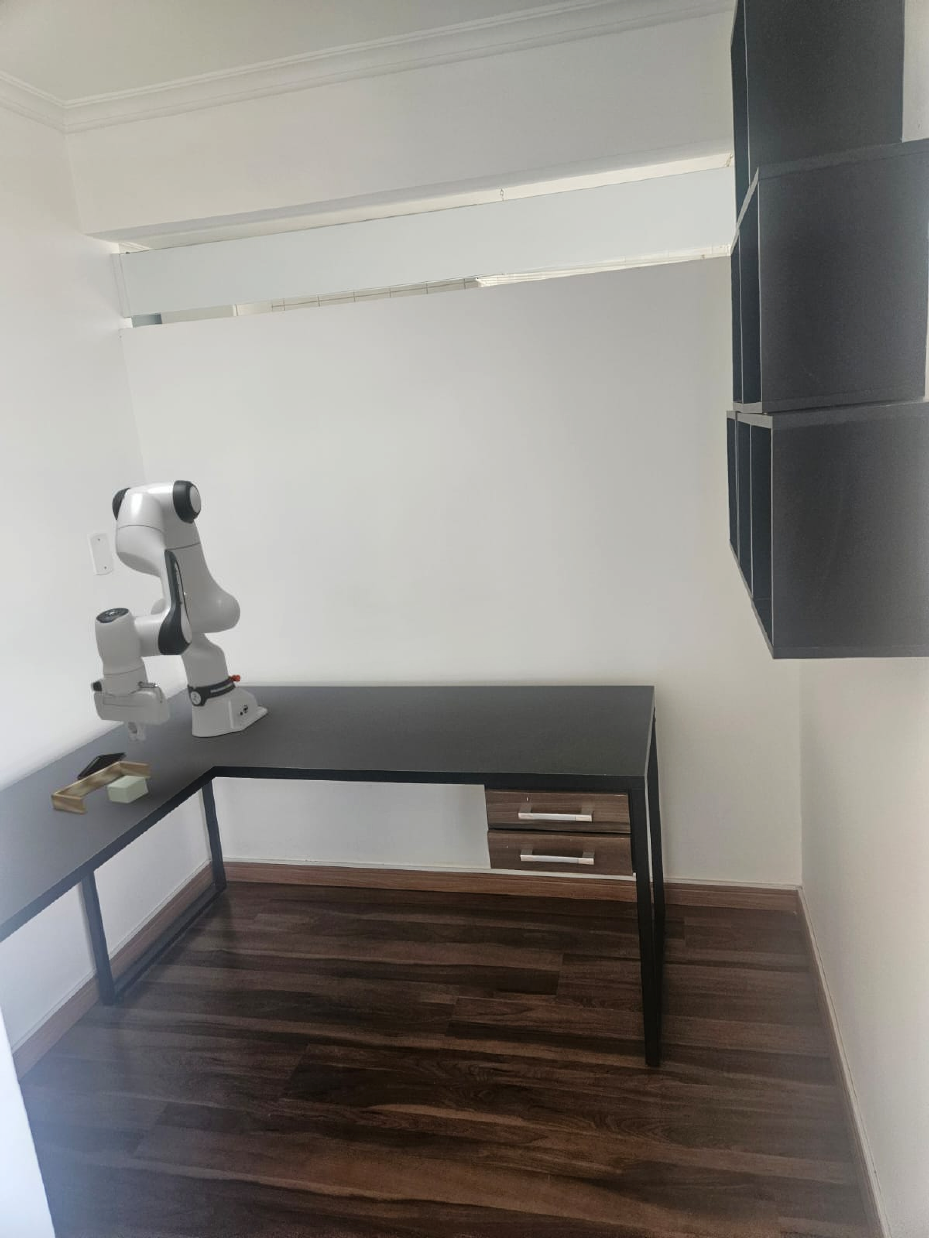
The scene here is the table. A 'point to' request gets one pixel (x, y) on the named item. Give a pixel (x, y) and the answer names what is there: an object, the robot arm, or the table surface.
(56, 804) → the wooden u-shaped bracket
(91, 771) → the phone
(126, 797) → the sage block
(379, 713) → the table surface
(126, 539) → the robot arm
